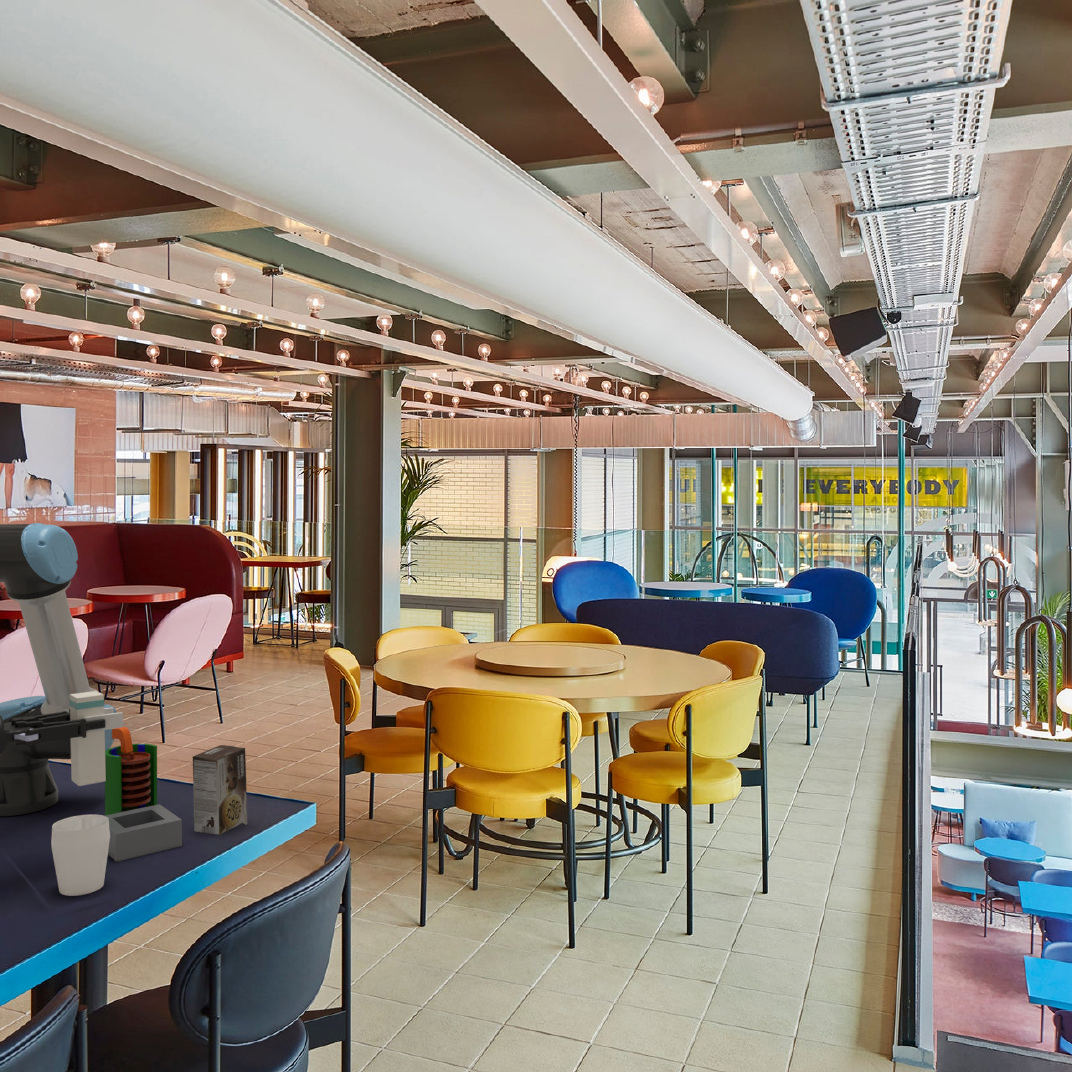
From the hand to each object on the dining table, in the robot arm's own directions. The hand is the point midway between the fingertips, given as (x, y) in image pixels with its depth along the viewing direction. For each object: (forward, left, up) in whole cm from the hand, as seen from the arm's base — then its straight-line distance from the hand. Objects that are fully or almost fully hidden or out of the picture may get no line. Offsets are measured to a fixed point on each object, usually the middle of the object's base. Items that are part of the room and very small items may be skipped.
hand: (117, 717), depth 179 cm
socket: (0, +3, -26) cm, 26 cm away
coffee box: (0, +19, -26) cm, 33 cm away
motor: (-15, +6, -26) cm, 31 cm away
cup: (+14, -11, -26) cm, 31 cm away
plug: (0, -5, -11) cm, 12 cm away
